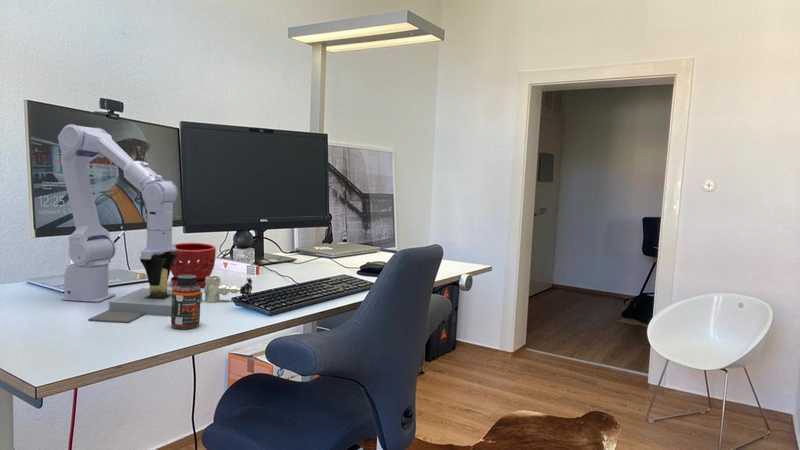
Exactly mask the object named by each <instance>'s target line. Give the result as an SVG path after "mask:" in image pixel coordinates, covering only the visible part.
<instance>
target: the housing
mask: <svg viewBox="0 0 800 450" xmlns="http://www.w3.org/2000/svg"><path fill="white" fill-rule="evenodd" d="M202 301H203V291H201V299H200V303H201V302H202ZM108 303H109V304H108V310H109V311H121V312H138V313H145V315H147V316H148V315H149V316H164V317H166V316H167V317H171V309H172V289H167V297H166V298H162V299H152V298H150V287H149V288H148V287H147V288H145V287H141V288H139V289H137V290H134V291H132V292H130V293H127V294H125V295H123V296H121V297H118V298H116V299H114V300H111V301H109V302H108ZM145 315H144V316H145Z"/></svg>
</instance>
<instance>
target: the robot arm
mask: <svg viewBox="0 0 800 450" xmlns="http://www.w3.org/2000/svg"><path fill="white" fill-rule="evenodd" d="M57 141H58V145H59V148H60V166H61V170H62V175H63V178H64V183H65V187H66V192H67V197H68V200H69V204H70V205H69V206H70V209H71V213H72V217H73V222H74V226H75V230H74V231H73V232H72V233H71V234H70V235H69V237H68V242H69V247H68V257H69V258H70V260H71V262H72V263H70V264H68V266H67V267H66V269H65V271H64V275H63V276H64V278H63V285H64V286H63V288H64V289H63V292H64V293H63V297H62V299H61V300H62V301H74V302H75V301H76V302H77V301H78V302H92V303H95V302H97V303H100V302H102V301H105V300H107V299H109V298H113V297H114V296H115V297H116V293H114V292H113V293H111V292H109V275H110V273H109V267H110V266H109V264H110V263H111V259H113V258H114V256H116V251H117V248H116V244H115V242H114V240H113V239H112V237H111V234H110V232H109V230H108V229H106V228H104V226H102V225H101V222H100V217H99V215H98V214H99V213H98V210H97V205H96V201H95V196H94V192H93V188H92V184H91V179H90V174H89V169H88V165H89V164H90V162H92V161H93V160H94V159H96V158H97V157H98V156H99V155H101V154H102V155H103V156H104V157H105V158H107V159H108V160H109V161H111V162H112V163H113V164H114V165H116V166H117V167H118V168H120V169H121V170H122V171H123V177H124V178H125V179H126V181H128V182H129V183H130V184H131V185H133V187H135V188H136V189H137V190H138V191H139V192H140V193H141V196H142V199H143V201H144V203H145V209H146V211H147V214H146V246H145V247H144V249H143V250H140V257H139V258H140V259H139V260H140V262H141V264H142V266H143V267H144V268H143V269H144V270H145V273H146V276H147V280H148V284H149V286H150V285H152V286H158V285H159V284H160V279H161V272H162V268H166V269H168V276H167V282H168V280H169V278H170V274H171V273H170V272H171V267H172V264H173V262H174V260H175V259H176V257H177V254H176V253H171V251H176V244H177V243H173V216H174V215H173V214H174V212H173V207H174V203H175V202H176V200H177V198H178V196H179V190H178V187H177V186H176V184H174V182H173V181H171V180H164V179H163V176H162V175H160V174H157V173H156V172H155V171H154V170H152V169H151V168H150V164H149V163H148V162H146V161H141V160H134V159H133V158H132V157H131V156H129V154H128V153H127V152H126V151H125V150H124V149H122V148H121V146H119V144H118V143H117V142H115V141H114V140H113V138H112V135H111V134H109V133H108V132H106V130H105V129H103V128H102V127H91V126H90V127H89V126H82V125H77V124H70V123H69V124H67V125H65V126H64V127H63V128H62V130H60V133H59V134H58V136H57Z"/></svg>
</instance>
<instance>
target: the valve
mask: <svg viewBox="0 0 800 450" xmlns="http://www.w3.org/2000/svg"><path fill="white" fill-rule="evenodd" d="M246 281H247V282H245V284H243V286H242V285H241V286H240V287H238V286H233V285H232V286H231V287H230V286H228V284H227V283H223V284H221V277H220V276H218V275H210V276H207V277H205V283H206V285H205V286H203V287H204V288H203V293H204V294H205V295H204V302H206V303H210V304H211V303H219V302H221V301H220V297H221V296H220V295H222V296H227V295H228V294H229V293H231V294H237V293H240V295H241V296H242V297H243V296H247V295H249V294H252V290H253V286H252V284H253V280H252V278H251V277H250V278H249V277H246Z"/></svg>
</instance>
